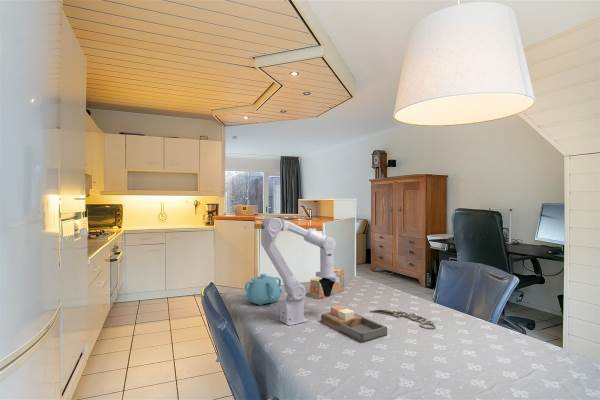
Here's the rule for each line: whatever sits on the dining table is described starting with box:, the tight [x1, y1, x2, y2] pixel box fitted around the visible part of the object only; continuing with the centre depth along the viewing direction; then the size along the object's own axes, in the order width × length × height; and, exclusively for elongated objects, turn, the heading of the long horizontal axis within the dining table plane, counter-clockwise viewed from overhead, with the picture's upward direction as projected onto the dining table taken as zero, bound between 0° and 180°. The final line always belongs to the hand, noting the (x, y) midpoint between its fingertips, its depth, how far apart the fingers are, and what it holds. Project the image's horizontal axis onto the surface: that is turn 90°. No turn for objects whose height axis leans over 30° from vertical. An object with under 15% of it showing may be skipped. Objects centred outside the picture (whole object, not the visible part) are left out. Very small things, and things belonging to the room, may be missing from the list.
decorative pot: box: [243, 273, 283, 306], centre depth 162 cm, size 16×16×14 cm
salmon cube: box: [330, 304, 347, 317], centre depth 133 cm, size 4×4×3 cm
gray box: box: [339, 317, 388, 344], centre depth 120 cm, size 12×12×3 cm
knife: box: [369, 309, 437, 330], centre depth 136 cm, size 28×2×10 cm
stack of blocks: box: [309, 267, 345, 300], centre depth 174 cm, size 21×6×12 cm, turn 137°
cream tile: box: [338, 308, 355, 320], centre depth 129 cm, size 4×4×3 cm
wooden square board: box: [320, 311, 365, 332], centre depth 131 cm, size 12×12×3 cm
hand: (327, 296), depth 140 cm, fingers closed
